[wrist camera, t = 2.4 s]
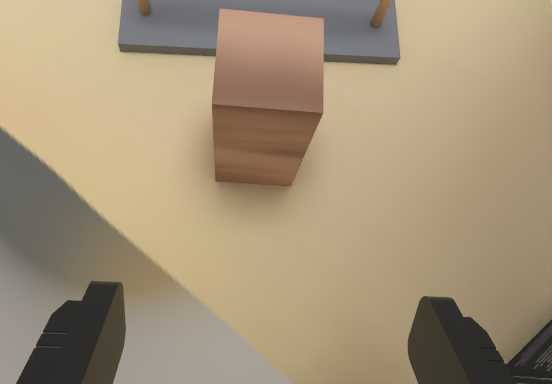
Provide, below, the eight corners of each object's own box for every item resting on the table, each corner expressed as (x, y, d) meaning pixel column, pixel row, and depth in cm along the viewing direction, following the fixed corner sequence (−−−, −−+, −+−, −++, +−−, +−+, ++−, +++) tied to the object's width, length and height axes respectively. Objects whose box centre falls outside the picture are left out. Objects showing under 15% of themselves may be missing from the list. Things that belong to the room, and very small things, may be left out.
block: (220, 112, 30) (219, 8, 21) (292, 118, 30) (323, 18, 21) (215, 180, 29) (212, 104, 19) (290, 185, 29) (322, 112, 20)
